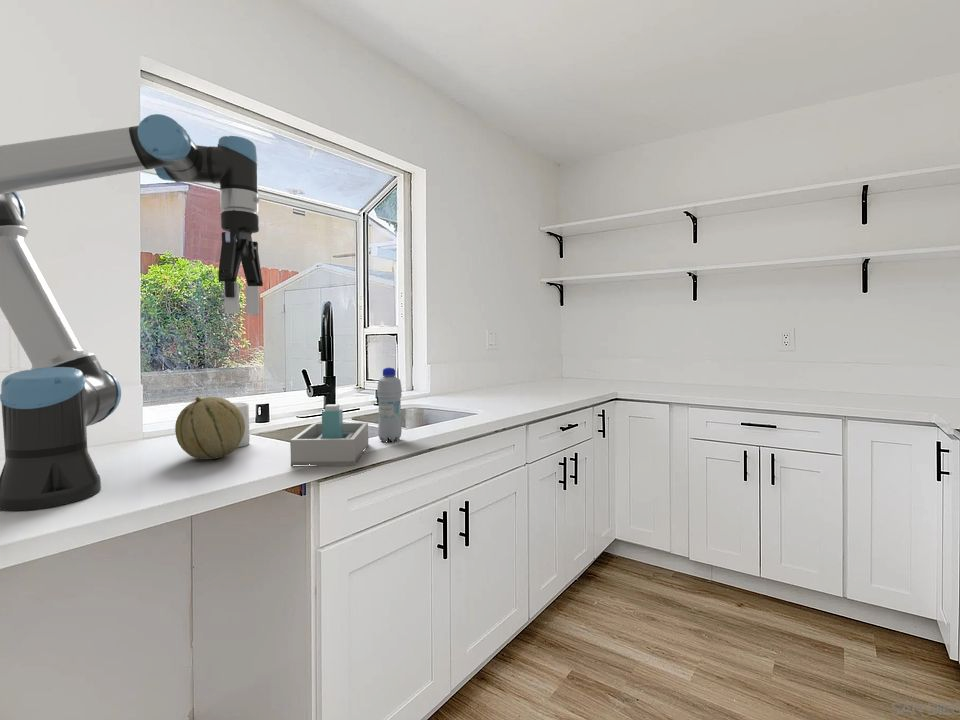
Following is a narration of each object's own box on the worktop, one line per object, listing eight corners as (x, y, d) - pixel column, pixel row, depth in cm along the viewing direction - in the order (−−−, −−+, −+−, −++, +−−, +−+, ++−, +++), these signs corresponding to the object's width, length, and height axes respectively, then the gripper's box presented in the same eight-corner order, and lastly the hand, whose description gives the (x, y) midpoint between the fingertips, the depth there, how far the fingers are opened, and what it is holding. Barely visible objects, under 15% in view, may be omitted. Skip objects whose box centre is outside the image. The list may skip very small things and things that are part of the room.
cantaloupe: (259, 453, 129) (257, 393, 128) (210, 469, 115) (207, 401, 114) (213, 448, 134) (211, 390, 133) (160, 463, 120) (158, 398, 119)
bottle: (372, 441, 141) (371, 368, 140) (385, 436, 148) (384, 366, 146) (395, 443, 139) (394, 368, 138) (406, 438, 145) (406, 366, 144)
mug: (194, 447, 135) (192, 406, 134) (241, 440, 143) (240, 401, 143) (206, 453, 129) (204, 410, 128) (255, 445, 138) (254, 404, 137)
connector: (339, 452, 125) (338, 406, 125) (322, 453, 125) (321, 406, 124) (343, 448, 129) (342, 403, 129) (326, 449, 129) (325, 404, 128)
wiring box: (354, 465, 118) (353, 439, 117) (290, 466, 117) (290, 440, 117) (368, 445, 138) (368, 422, 137) (314, 445, 137) (313, 423, 136)
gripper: (235, 200, 103) (239, 313, 104) (275, 223, 126) (277, 315, 127) (196, 200, 102) (200, 313, 104) (243, 222, 125) (246, 314, 127)
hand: (243, 314), depth 116 cm, fingers open, 11 cm apart
